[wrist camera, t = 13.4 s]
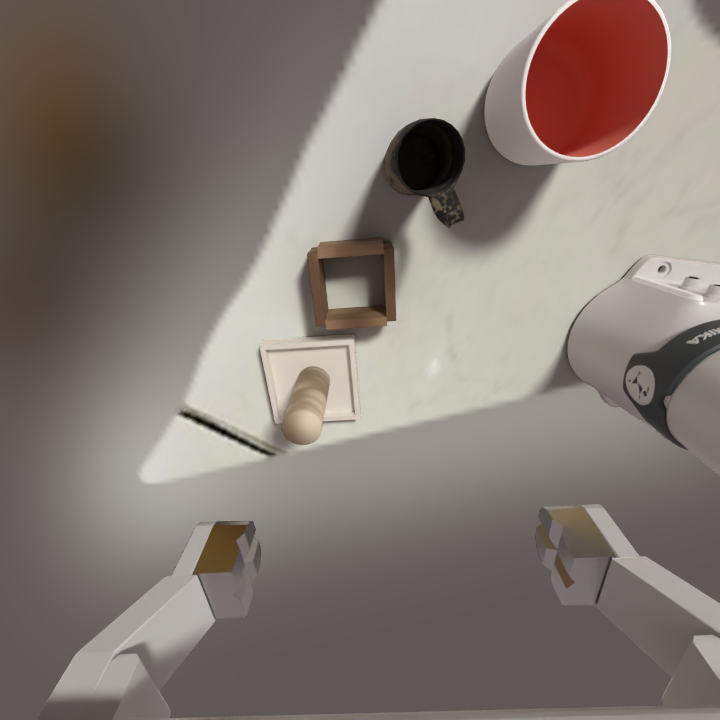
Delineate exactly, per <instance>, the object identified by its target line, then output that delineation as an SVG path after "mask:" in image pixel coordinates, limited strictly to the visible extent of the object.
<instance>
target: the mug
mask: <svg viewBox="0 0 720 720" xmlns="http://www.w3.org/2000/svg"><path fill="white" fill-rule="evenodd" d="M464 162H465V148H464V143H463V140H462V138H461V136H460V134H459V132H458V131H457V130H456V129H455V128H454V127H453V125H451V124H450V123H448V122H446V121H444V120H440V119H435V118H428V119H420V120H417V121H415V122H413V123H410V124H409V125H407V126H405V127H404V128H403V129H401V130H400V131H399V132H398V133H397V134H396V136H395V137H394V139H393V140H392V141H391V143H390V145H389V147H388V150H387V153H386V156H385V162H384V169H385V174H386V178H387V180H388V182H389V183H390V185H391V186H392V187H393V188H394V189H395V190H396V191H398V192H400V193H402V194H406V195H416V194H417V195H420V196H426V197H428V198H429V200H430V203H431V206H432V208H433V211H434V213H435V215H436V216H437V218H438V219H439V220H440V221H441V222H442V223H443V224H444V225H445V226H447V227H448V228H449V227H451V226H452V225H454V224H455V223H457V222H460V221H463V220H464V214H463V210H462V207H461V205H460V202H459V199H458V197H457V195H456V192H455V190H454V187H455V185H456V183H457V180H458V178H459V176H460V174H461V172H462V169H463V165H464Z"/></svg>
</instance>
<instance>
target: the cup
mask: <svg viewBox="0 0 720 720" xmlns="http://www.w3.org/2000/svg"><path fill="white" fill-rule="evenodd" d="M670 60H671V39H670V32H669V28H668V24H667V21H666V18H665V16H664V14H663V12H662V10H661V8H660V7H659V6H658V4H657V3H656V2H655V0H569V1H568V2H566V3H565V4H564V5H563V6H561V7H560V8H559V9H558V10H557V11H556V12H554V13H553V14H552V15H551V16H550V17H549V18H548V19H546V20H545V21H544V22H543V23H542V24H541V25H540V26H538V27H537V28H536V29H535V30H534V31H533V32H532V33H530V34H529V35H528V36H527V37H526V38H525V39H523V40H522V41H521V42H520V43H519V44H518V45H517V46H515V47H514V48H513V49H512V50H511V51H510V52H509V53H508V54H507V55H506V57H505V58H504V59H503V60H502V62H501V63H500V65H499V66H498V68H497V69H496V71H495V73H494V75H493V77H492V79H491V82H490V85H489V87H488V91H487V95H486V100H485V112H484V116H485V125H486V129H487V133H488V136H489V138H490V140H491V142H492V144H493V146H494V147H495V148H496V150H497V151H498V152H499V153H500V154H501V155H502V156H504V157H505V158H506V159H508V160H510V161H512V162H514V163H517V164H521V165H529V166H532V165H546V164H558V163H570V162H582V161H588V160H592V159H596V158H599V157H602V156H604V155H606V154H608V153H610V152H612V151H614V150H615V149H617V148H618V147H620V146H621V145H623V144H624V143H625V142H626V141H628V140H629V139H630V138H631V137H632V136H633V135H634V134H635V133H636V132H637V131H638V130H639V129H640V128H641V127H642V125H643V124H644V123H645V122H646V120H647V119H648V117H649V116H650V115H651V113H652V111H653V110H654V108H655V106H656V104H657V103H658V101H659V99H660V96H661V94H662V92H663V89H664V87H665V83H666V80H667V76H668V73H669V67H670Z"/></svg>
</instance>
